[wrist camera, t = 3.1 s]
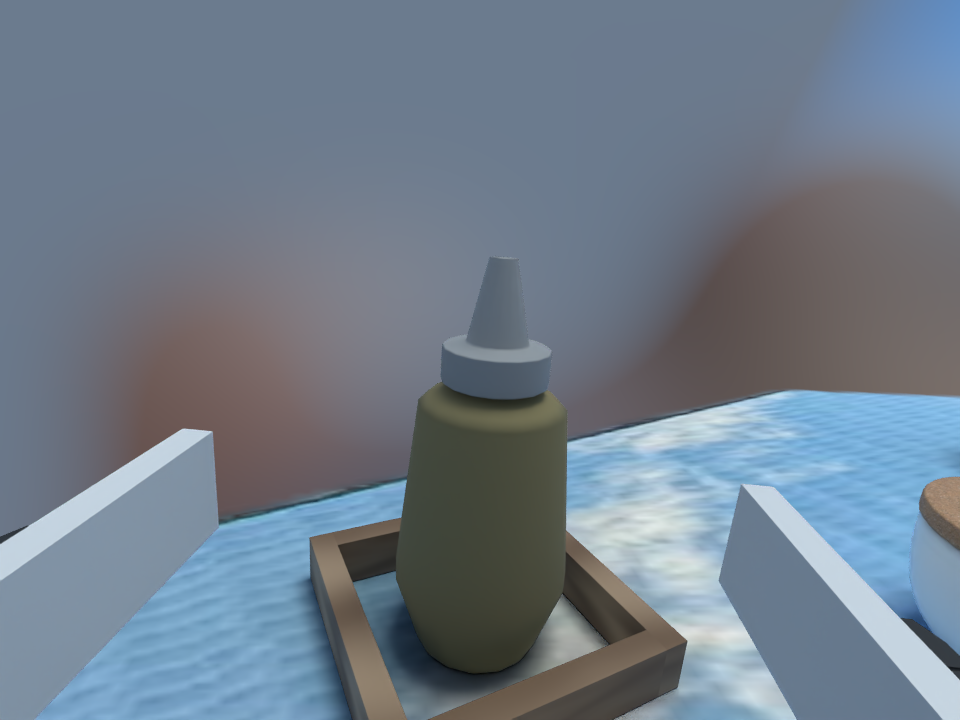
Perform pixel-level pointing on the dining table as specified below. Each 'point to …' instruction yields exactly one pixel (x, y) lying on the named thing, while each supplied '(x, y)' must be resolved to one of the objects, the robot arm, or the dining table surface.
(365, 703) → the wooden frame
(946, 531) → the lidded jar
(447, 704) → the dining table surface
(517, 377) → the squeeze bottle
